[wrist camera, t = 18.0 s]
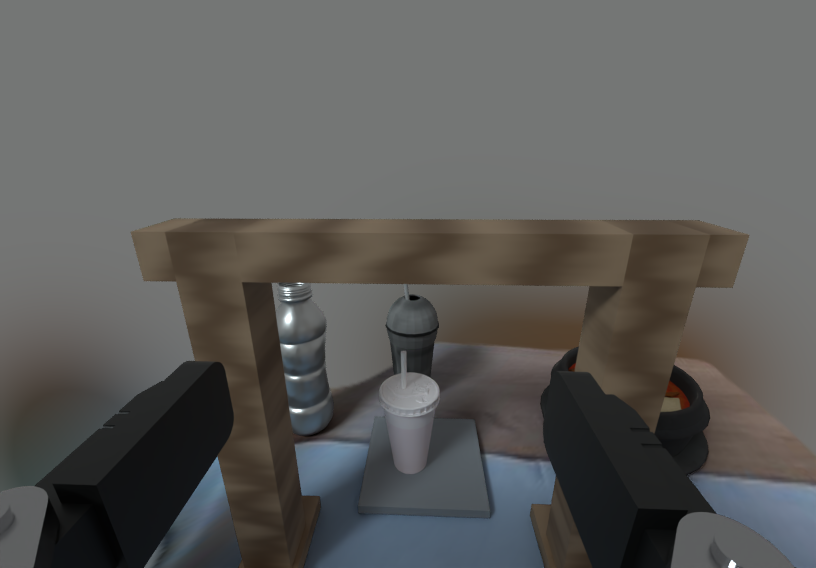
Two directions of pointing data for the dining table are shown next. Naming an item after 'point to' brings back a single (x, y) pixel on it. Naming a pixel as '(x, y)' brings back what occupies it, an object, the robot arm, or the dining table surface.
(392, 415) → the smoothie
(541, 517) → the archway
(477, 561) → the dining table surface
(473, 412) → the dining table surface
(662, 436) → the casserole
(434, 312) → the beverage cup
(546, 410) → the robot arm
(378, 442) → the mat
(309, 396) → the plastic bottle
